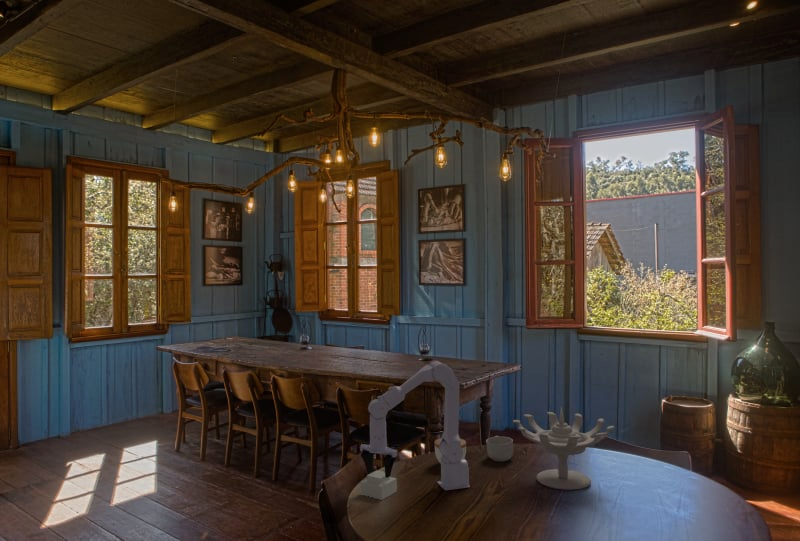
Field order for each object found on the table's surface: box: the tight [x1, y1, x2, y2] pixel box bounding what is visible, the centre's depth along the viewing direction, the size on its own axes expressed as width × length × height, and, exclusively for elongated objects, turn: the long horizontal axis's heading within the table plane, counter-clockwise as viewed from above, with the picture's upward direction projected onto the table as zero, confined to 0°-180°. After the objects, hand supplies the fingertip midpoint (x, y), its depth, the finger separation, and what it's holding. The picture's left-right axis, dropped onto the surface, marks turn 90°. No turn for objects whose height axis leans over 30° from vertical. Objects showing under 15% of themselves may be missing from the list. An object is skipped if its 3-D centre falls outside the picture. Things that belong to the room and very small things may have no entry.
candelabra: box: [512, 406, 615, 491], centre depth 197 cm, size 34×35×27 cm
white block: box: [359, 470, 398, 501], centre depth 190 cm, size 9×9×6 cm
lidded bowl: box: [433, 437, 467, 464], centre depth 218 cm, size 13×13×11 cm
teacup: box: [485, 435, 514, 463], centre depth 225 cm, size 14×11×8 cm
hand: (378, 474), depth 190 cm, fingers open, 7 cm apart
